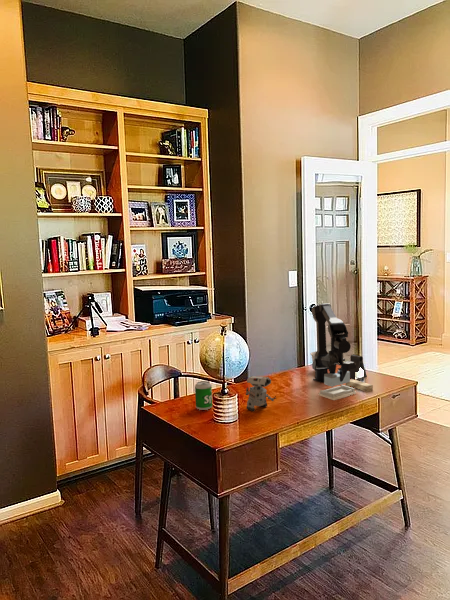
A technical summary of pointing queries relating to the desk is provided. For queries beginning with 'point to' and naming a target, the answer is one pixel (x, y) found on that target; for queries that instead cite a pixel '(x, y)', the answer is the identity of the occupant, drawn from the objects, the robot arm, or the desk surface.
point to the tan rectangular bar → (360, 385)
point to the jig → (337, 392)
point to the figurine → (257, 392)
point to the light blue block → (335, 379)
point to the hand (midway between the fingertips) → (337, 380)
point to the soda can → (203, 395)
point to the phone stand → (358, 362)
